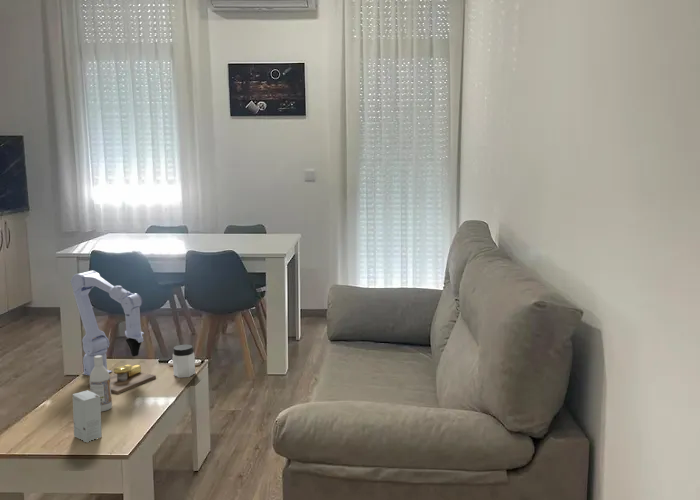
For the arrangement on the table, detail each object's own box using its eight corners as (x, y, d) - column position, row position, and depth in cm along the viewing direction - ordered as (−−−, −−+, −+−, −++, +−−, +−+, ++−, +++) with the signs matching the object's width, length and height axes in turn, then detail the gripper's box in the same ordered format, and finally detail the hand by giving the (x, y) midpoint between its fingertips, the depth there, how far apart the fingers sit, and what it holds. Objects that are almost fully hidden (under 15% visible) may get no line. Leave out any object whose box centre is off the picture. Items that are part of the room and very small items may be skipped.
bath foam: (113, 410, 241) (109, 357, 238) (92, 413, 238) (88, 360, 235) (111, 403, 247) (107, 352, 244) (91, 407, 244) (87, 355, 241)
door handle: (123, 382, 265) (122, 371, 265) (111, 380, 267) (110, 369, 267) (144, 372, 277) (143, 361, 276) (133, 370, 279) (132, 360, 279)
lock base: (88, 386, 265) (87, 376, 264) (127, 372, 282) (126, 362, 281) (117, 394, 257) (117, 383, 256) (155, 378, 274) (155, 368, 273)
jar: (198, 375, 277) (196, 347, 275) (180, 379, 272) (178, 351, 270) (188, 369, 284) (187, 342, 282) (171, 374, 279) (169, 346, 277)
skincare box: (73, 436, 219) (70, 394, 216) (90, 430, 223) (87, 388, 221) (86, 443, 213) (83, 400, 211) (103, 437, 218) (100, 394, 215)
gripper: (149, 325, 266) (151, 357, 268) (135, 318, 277) (137, 349, 279) (132, 328, 262) (135, 361, 264) (119, 321, 273) (121, 353, 275)
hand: (135, 355), depth 271 cm, fingers closed
